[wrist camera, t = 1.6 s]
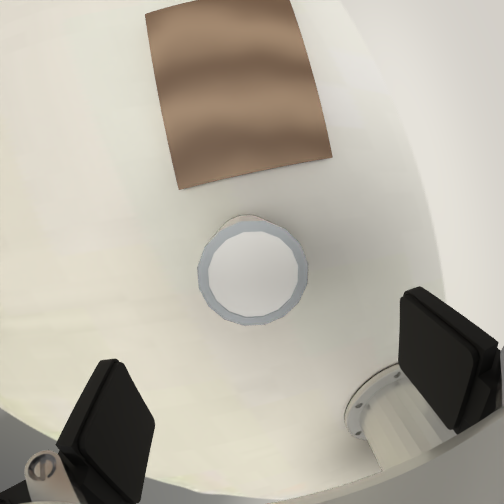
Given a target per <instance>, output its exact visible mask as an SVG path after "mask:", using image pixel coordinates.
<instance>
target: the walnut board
mask: <svg viewBox="0 0 504 504" xmlns="http://www.w3.org/2000/svg"><path fill="white" fill-rule="evenodd" d="M145 18H146V25H147V32H148V38H149V44H150V51H151V57H152V63H153V68H154V74H155V80H156V85H157V90H158V96H159V101H160V106H161V111H162V116H163V121H164V126H165V131H166V135H167V140H168V145H169V149H170V154H171V158H172V163H173V167H174V171H175V176H176V180H177V184H178V188H179V190H181V189H185V188H189V187H193V186H197V185H201V184H205V183H209V182H213V181H217V180H221V179H225V178H230V177H234V176H239V175H243V174H248V173H252V172H257V171H262V170H267V169H271V168H276V167H282V166H287V165H292V164H297V163H303V162H308V161H314V160H320V159H326V158H332V152H331V147H330V142H329V138H328V133H327V129H326V124H325V120H324V116H323V112H322V107H321V103H320V99H319V95H318V91H317V88H316V84H315V80H314V76H313V73H312V69H311V66H310V62H309V59H308V55H307V52H306V49H305V45H304V42H303V39H302V36H301V32H300V29H299V26H298V23H297V20H296V17H295V14H294V11H293V8H292V6H291V3H290V0H196V1H191V2H187V3H183V4H179V5H175V6H171V7H167V8H164V9H160V10H157V11H153V12H150V13H147V14H145Z"/></svg>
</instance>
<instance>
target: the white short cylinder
mask: <svg viewBox="0 0 504 504" xmlns="http://www.w3.org/2000/svg"><path fill="white" fill-rule="evenodd" d="M197 269H198V282H199V289H200V291H201V293H202V295H203V297H204V299H205V301H206V302H207V304H208V306H209V307H210V308H211V309H212V310H214V311H215V312H216V313H217V314H219V315H220V316H221V317H222V318H224V319H225V320H228V321H231V322H234V323H238V324H241V325H244V326H245V325H265V324H267V323H269V322H272V321H274V320H277V319H279V318H281V317H284V316H285V315H286V314H287V313H288V312H289V311H290V310H291V309H292V308H293V307H294V306H295V305H296V304H297V303H298V302H299V301H300V298H301V296H302V294H303V292H304V290H305V288H306V286H307V280H308V262H307V259H306V256H305V254H304V251H303V249H302V246H301V244H300V243H299V242H298V241H297V240H296V239H295V238H294V237H293V236H292V235H291V234H290V233H289V232H288V231H287V230H286V229H285V228H282V227H280V226H278V225H276V224H274V223H271V222H269V221H267V220H264V219H262V218H259V217H257V216H254V215H244V216H238V217H235V218H233V219H231V220H229V221H227V222H226V223H225V224H224V225H223V226H222V227H221V228H220V229H219V230H218V231H217V233H216V234H215V235H214V236H213V238H212V239H211V240H210V241H209V242H208V244H207V245H206V246H205V248H204V250H203V253H202V256H201V259H200V262H199V264H198V267H197Z"/></svg>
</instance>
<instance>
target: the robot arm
mask: <svg viewBox="0 0 504 504" xmlns="http://www.w3.org/2000/svg"><path fill="white" fill-rule="evenodd" d="M497 346H498V342H497V341H496V340H495V339H494V338H492V337H491V336H489V335H488V334H487V333H486V332H484V331H483V330H482V329H480V328H479V327H478V326H476V325H475V324H474V323H472V322H471V321H469V320H468V319H467V318H465V317H464V316H463V315H461V314H460V313H458V312H457V311H455V310H454V309H453V308H451V307H450V306H449V305H447V304H446V303H444V302H443V301H441V300H440V299H439V298H437V297H436V296H434V295H433V294H431V293H430V292H428V291H427V290H425V289H424V288H422V287H416V288H413V289H410V290H407V291H405V292H404V295H403V297H401V299H400V334H399V355H398V362H399V364H397V365H394V366H392V367H390V368H388V369H386V370H384V371H382V372H380V373H379V374H377V375H376V376H374V377H373V378H371V379H370V380H369V381H368V382H366V383H365V384H364V385H363V386H362V387H361V388H360V389H359V390H358V391H357V393H356V394H355V395H354V397H353V398H352V399H351V401H350V403H349V405H348V407H347V409H346V412H345V424H346V427H347V429H348V431H349V432H350V434H351V435H352V436H354V437H356V438H358V439H361V440H367V441H368V443H369V445H370V447H371V449H372V451H373V453H374V455H375V457H376V459H377V461H378V463H379V466H380V468H381V470H382V471H381V472H379V473H376V474H374V475H371V476H368V477H366V478H363V479H360V480H357V481H354V482H351V483H348V484H345V485H342V486H339V487H335V488H332V489H328V490H325V491H321V492H318V493H314V494H310V495H306V496H301V497H297V498H293V499H288V500H283V501H278V502H272V503H267V504H504V347H503V348H502V350H501V351H500V350H499V349H498V348H497ZM154 429H155V421H154V418H153V416H152V414H151V413H150V411H149V409H148V408H147V406H146V404H145V402H144V401H143V399H142V397H141V395H140V393H139V392H138V390H137V388H136V386H135V384H134V382H133V381H132V379H131V377H130V375H129V373H128V371H127V369H126V367H125V365H124V364H123V363H122V362H119V361H118V360H117V359H108V360H101V361H100V362H99V363H98V365H97V367H96V368H95V370H94V372H93V374H92V376H91V377H90V379H89V381H88V383H87V385H86V387H85V388H84V390H83V392H82V394H81V396H80V398H79V400H78V401H77V403H76V405H75V407H74V409H73V411H72V413H71V415H70V417H69V419H68V421H67V423H66V425H65V427H64V429H63V431H62V433H61V435H60V437H59V439H58V441H57V443H56V446H57V447H58V448H59V450H60V451H59V453H58V454H57V453H55V452H54V451H50V450H45V451H40V452H38V453H36V454H35V455H33V456H32V457H31V458H30V459H29V460H28V462H27V464H26V466H25V470H24V473H25V479H26V480H24V481H22V482H20V483H18V484H16V485H14V486H13V487H11V488H9V489H7V490H5V491H3V492H1V493H0V504H136V503H139V502H140V500H141V494H142V489H143V483H144V478H145V473H146V467H147V462H148V457H149V452H150V447H151V443H152V438H153V433H154Z"/></svg>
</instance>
